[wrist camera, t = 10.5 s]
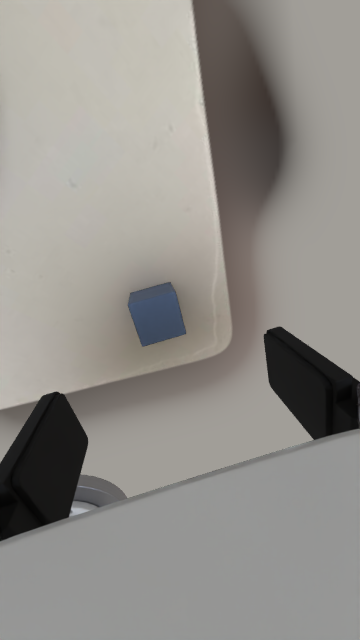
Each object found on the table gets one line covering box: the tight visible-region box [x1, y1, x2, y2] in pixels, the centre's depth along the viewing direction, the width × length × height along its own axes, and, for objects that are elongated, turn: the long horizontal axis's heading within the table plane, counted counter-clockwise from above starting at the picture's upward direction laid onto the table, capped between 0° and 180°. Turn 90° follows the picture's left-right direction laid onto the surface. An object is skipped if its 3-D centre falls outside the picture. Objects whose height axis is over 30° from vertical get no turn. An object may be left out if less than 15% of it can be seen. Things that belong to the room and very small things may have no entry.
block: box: [128, 282, 186, 346], centre depth 21 cm, size 4×4×4 cm
